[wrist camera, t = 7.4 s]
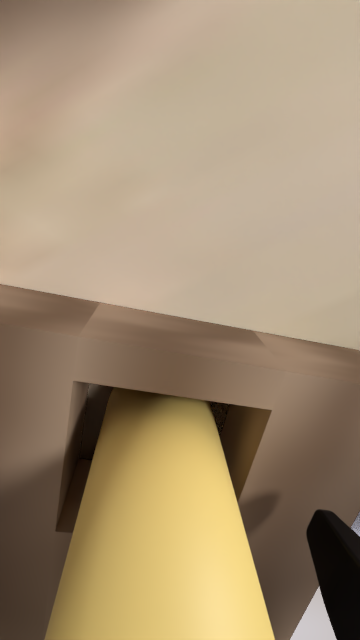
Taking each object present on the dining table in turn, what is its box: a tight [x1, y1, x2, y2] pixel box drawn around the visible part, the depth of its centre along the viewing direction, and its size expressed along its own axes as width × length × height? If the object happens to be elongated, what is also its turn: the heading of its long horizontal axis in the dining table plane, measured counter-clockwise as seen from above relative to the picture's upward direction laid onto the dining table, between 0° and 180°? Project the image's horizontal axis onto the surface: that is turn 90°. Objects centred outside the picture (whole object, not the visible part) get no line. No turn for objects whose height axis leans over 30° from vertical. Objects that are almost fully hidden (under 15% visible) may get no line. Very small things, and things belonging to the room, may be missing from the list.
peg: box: [44, 387, 275, 640], centre depth 8 cm, size 4×4×8 cm
